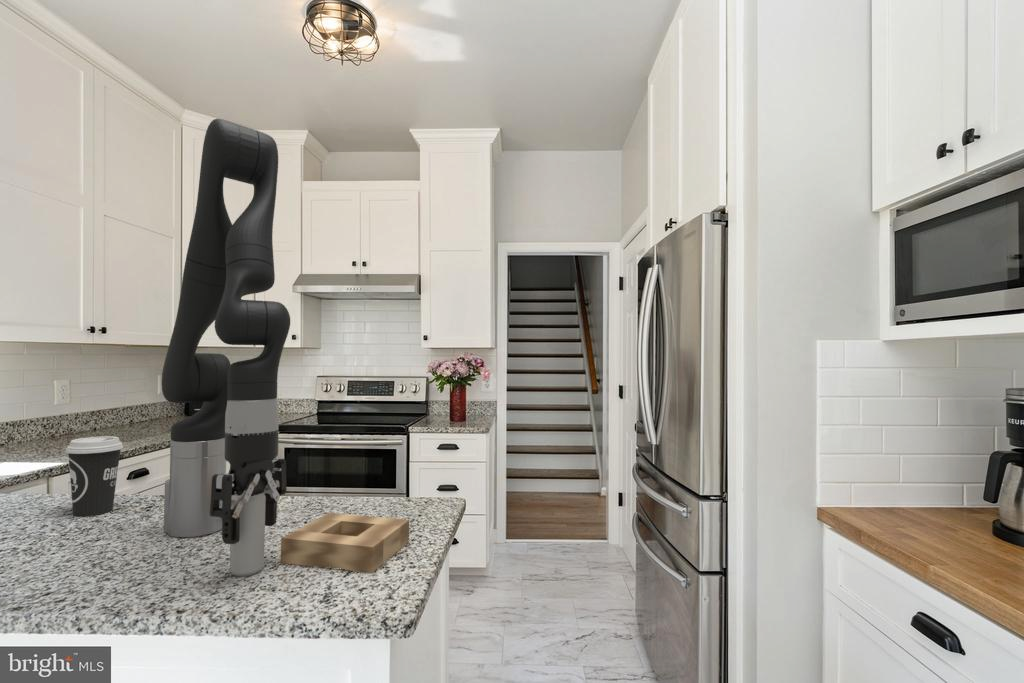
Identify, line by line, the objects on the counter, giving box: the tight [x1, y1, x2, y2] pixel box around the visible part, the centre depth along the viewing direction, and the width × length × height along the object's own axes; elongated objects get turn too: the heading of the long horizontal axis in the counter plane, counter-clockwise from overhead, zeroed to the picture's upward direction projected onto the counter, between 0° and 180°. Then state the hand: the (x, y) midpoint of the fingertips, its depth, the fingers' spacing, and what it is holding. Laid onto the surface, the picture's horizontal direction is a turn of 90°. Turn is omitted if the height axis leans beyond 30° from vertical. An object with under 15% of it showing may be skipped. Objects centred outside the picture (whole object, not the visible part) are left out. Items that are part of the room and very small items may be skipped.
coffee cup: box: [65, 435, 124, 518], centre depth 112 cm, size 10×10×15 cm
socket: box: [280, 512, 410, 574], centre depth 92 cm, size 16×14×4 cm
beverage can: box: [229, 491, 266, 577], centre depth 83 cm, size 5×5×12 cm
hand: (250, 533), depth 83 cm, fingers open, 8 cm apart
